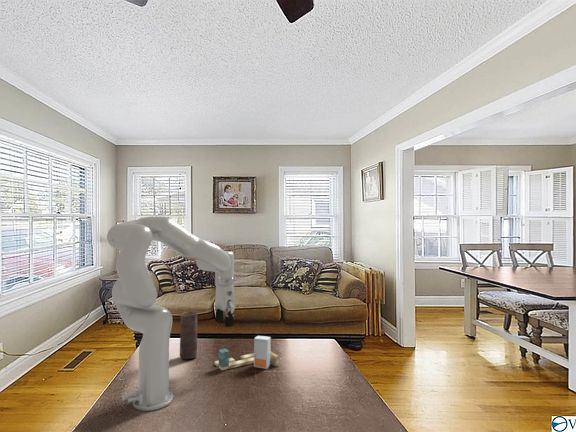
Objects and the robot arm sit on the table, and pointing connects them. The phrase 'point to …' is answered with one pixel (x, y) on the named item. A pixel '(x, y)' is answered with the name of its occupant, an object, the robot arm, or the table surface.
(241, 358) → the broken strip
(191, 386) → the table surface
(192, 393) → the table surface
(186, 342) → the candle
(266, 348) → the skincare box
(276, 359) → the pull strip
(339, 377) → the table surface
